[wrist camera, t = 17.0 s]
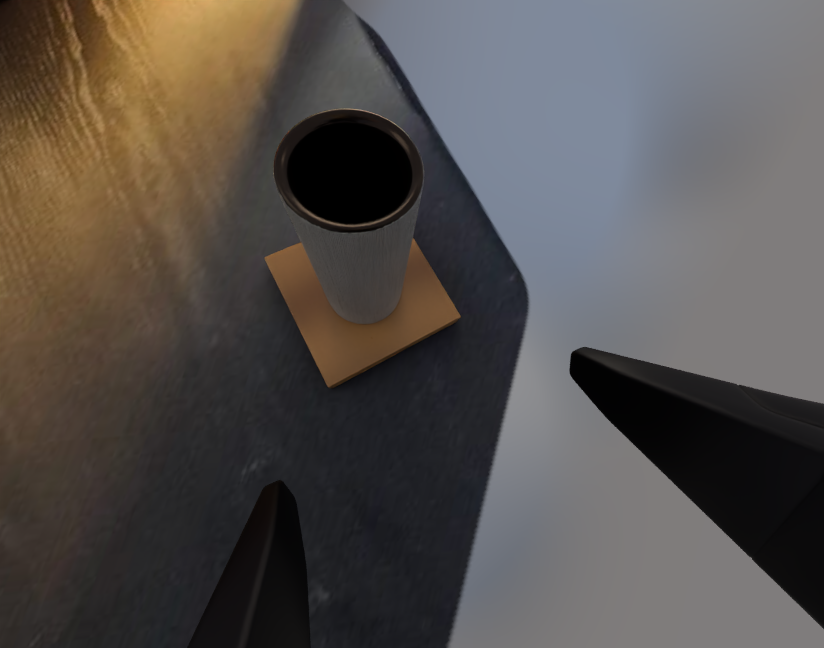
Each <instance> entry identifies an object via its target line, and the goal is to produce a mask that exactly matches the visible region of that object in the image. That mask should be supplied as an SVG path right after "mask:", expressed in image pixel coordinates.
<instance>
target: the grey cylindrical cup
mask: <svg viewBox="0 0 824 648" xmlns="http://www.w3.org/2000/svg"><path fill="white" fill-rule="evenodd" d="M273 174H274V181H275V185H276V188H277V190H278V193H279V195H280V198H281V200H282V202H283V204H284V206H285V209H286V211H287V213H288V215H289V217H290V219H291V222H292V224H293V226H294V228H295V230H296V232H297V234H298V237H299V239H300V241H301V243H302V245H303V247H304V250H305V252H306V254H307V256H308V258H309V260H310V262H311V265H312V267H313V269H314V271H315V273H316V275H317V278H318V280H319V282H320V284H321V286H322V288H323V290H324V293H325V295H326V297H327V299H328V301H329V303H330V305H331V306H332V308H333V309H334V311H335V312H336V313H337V314H338V315H339V316H341V317H342V318H344V319H345V320H347V321H350V322H353V323H356V324H371V323H376V322H378V321H381V320H383V319H384V318H386V317H387V316H389V315H390V314H391V313H392V312H393V311H394V309H395V308H396V306H397V304H398V302H399V299H400V296H401V292H402V287H403V283H404V278H405V273H406V268H407V263H408V258H409V253H410V248H411V243H412V238H413V233H414V229H415V224H416V219H417V214H418V209H419V204H420V199H421V194H422V189H423V183H424V167H423V162H422V158H421V155H420V153H419V151H418V149H417V147H416V145H415V144H414V142H413V141H412V139H411V138H410V137H409V136H408V135H407V133H406V132H404V131H403V130H402V129H401V128H400V127H399V126H397V125H396V124H395V123H393V122H392V121H390V120H388V119H386V118H384V117H382V116H380V115H378V114H375V113H372V112H368V111H364V110H358V109H332V110H327V111H323V112H320V113H316V114H314V115H311V116H309V117H307V118H305V119H304V120H302V121H301V122H299V123H298V124H296V125H295V126H294V127H293V128H292V129H291V130H290V131H289V132H288V133H287V134H286V135H285V137H284V138H283V139H282V141H281V143H280V144H279V146H278V149H277V151H276V154H275V158H274V165H273Z"/></svg>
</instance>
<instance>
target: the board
mask: <svg viewBox="0 0 824 648" xmlns="http://www.w3.org/2000/svg"><path fill="white" fill-rule="evenodd" d="M264 259H265V261H266V263H267V265H268V267H269V269H270V271H271V273H272V275H273V277H274V279H275V281H276V283H277V285H278V287H279V289H280V291H281V293H282V295H283V297H284V299H285V301H286V303H287V305H288V307H289V309H290V312H291V314H292V316H293V318H294V320H295V322H296V324H297V326H298V328H299V330H300V332H301V334H302V336H303V338H304V340H305V342H306V344H307V346H308V348H309V350H310V352H311V354H312V356H313V358H314V360H315V362H316V364H317V366H318V368H319V370H320V372H321V374H322V376H323V378H324V380H325V382H326V384H327V386H328V388H331V389H332V388H334V387H336V386H338V385H340V384H342V383H344V382H345V381H347V380H349V379H351V378H353V377H355V376H357V375H359V374H360V373H362V372H364V371H366V370H368V369H370V368H372V367H373V366H375V365H377V364H379V363H381V362H383V361H385V360H386V359H388V358H390V357H392V356H394V355H396V354H398V353H399V352H401V351H403V350H405V349H407V348H409V347H411V346H413V345H414V344H416V343H418V342H420V341H422V340H424V339H426V338H427V337H429V336H431V335H433V334H435V333H437V332H439V331H440V330H442V329H444V328H446V327H448V326H450V325H452V324H453V323H455V322H457V321H458V319H459V318H460V317H461V316H460V314H459V313H458V311H457V309H456V308H455V306H454V304H453V303H452V301H451V300H450V298H449V296H448V295H447V293H446V291H445V290H444V288H443V286H442V285H441V283H440V281H439V280H438V278H437V276H436V275H435V273H434V271H433V270H432V268H431V267H430V265H429V263H428V262H427V260H426V258H425V257H424V255H423V253H422V252H421V250H420V248H419V247H418V245H417V243H416V242H415V240H414V238H412V243H411V248H410V253H409V258H408V263H407V268H406V273H405V278H404V283H403V287H402V292H401V296H400V299H399V302H398V304H397V306H396V308H395V309H394V311H393V312H392V313H391V314H390V315H389V316H387V317H386V318H384V319H383V320H381V321H378V322H376V323H371V324H356V323H353V322H350V321H347V320H345V319H344V318H342V317H341V316H339V315H338V314H337V313H336V312H335V311H334V309H333V308H332V306H331V305H330V303H329V301H328V299H327V297H326V295H325V293H324V290H323V288H322V286H321V284H320V282H319V280H318V278H317V275H316V273H315V271H314V269H313V267H312V265H311V262H310V260H309V258H308V256H307V254H306V252H305V250H304V247H303V245H302V243H301V242H300V243H298V244H296V245H293V246H291V247H288V248H286V249H284V250H281V251H279V252H276V253H274V254H272V255H269V256H267V257H265V258H264Z"/></svg>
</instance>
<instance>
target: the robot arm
mask: <svg viewBox="0 0 824 648" xmlns="http://www.w3.org/2000/svg"><path fill="white" fill-rule="evenodd" d="M570 375H571V377H572V378H573V380H574V381H575V382H576V383H577V384H578V386H579V387H580V388H581V389H582V390H583V391H584V393H585V394H586V395H587V396H588V397H589V398H590V400H591V401H592V402H593V403H594V404H595V405H596V406H597V408H598V409H599V410H600V411H601V412H602V413H603V414H604V416H605V417H606V418H607V419H608V420H609V421H610V422H611V423H612V424H613V425H614V426H615V427H617V429H618V430H619V431H620V432H622V433H623V434H624V435H625V436H626V437H627V438H628V439H629V440H630V441H631V442H632V443H633V444H634V445H635V446H636V447H637V448H638V449H639V450H640V451H641V452H642V453H643V454H644V455H645V456H646V457H647V458H648V459H649V460H650V461H651V462H652V463H653V464H655V466H657V467H658V468H659V469H660V470H661V471H662V472H663V473H664V474H665V475H666V476H667V477H668V478H669V479H670V480H671V481H672V482H673V483H674V484H675V485H676V486H677V487H678V488H679V489H680V490H681V491H682V492H683V493H684V494H686V496H687V497H689V498H690V499H691V500H692V501H693V502H694V503H695V504H696V505H697V506H698V507H699V508H700V509H701V510H702V511H703V512H704V513H705V514H706V515H707V516H708V517H709V518H710V519H711V520H712V521H713V522H714V523H715V524H716V525H717V526H718V527H719V528H721V529H722V530H723V531H724V532H725V533H726V534H727V535H728V536H729V537H730V538H731V539H732V540H733V541H734V542H735V543H736V544H737V545H738V546H739V547H740V548H741V549H742V550H743V551H744V552H745V553H746V554H747V555H748V556H749V557H751V558H752V560H753V561H754V562H755V563H756V564H757V565H758V566H759V567H760V568H761V569H763V570H764V571H765V572H766V573H767V574H768V575H769V576H770V577H771V578H772V579H773V580H774V581H775V582H776V583H777V584H778V585H779V586H780V587H781V588H782V589H783V590H784V591H785V592H786V593H787V594H788V595H789V596H790V597H792V599H793V600H795V601H796V602H797V603H798V604H799V605H800V606H801V607H802V608H803V609H804V610H805V611H806V612H807V613H808V614H809V615H810V616H811V617H812V618H813V619H814V620H815V621H816V622H817V623H818V624H819V625H820V626H821V627H822V628H823V629H824V404H821V403H817V402H812V401H807V400H802V399H798V398H793V397H788V396H784V395H779V394H776V393H771V392H767V391H762V390H758V389H754V388H750V387H746V386H742V385H737V384H734V383H730V382H726V381H721V380H718V379H714V378H710V377H705V376H701V375H697V374H693V373H689V372H685V371H681V370H677V369H673V368H669V367H665V366H661V365H657V364H653V363H649V362H645V361H641V360H637V359H632V358H628V357H624V356H620V355H616V354H612V353H608V352H604V351H600V350H596V349H592V348H587V347H582V348H579V349H577V350H575V351H573V352H572V354H571V360H570ZM187 648H311V647H310V626H309V605H308V585H307V569H306V560H305V553H304V547H303V541H302V534H301V528H300V522H299V515H298V509H297V503H296V500H295V497H294V496H293V494H292V493H291V492H290V490H289V489H288V488H287V486H286V485H285V484H284V482H283V481H281V480H278V481H276V482H273V483H271V484H269V485H267V486H265V487H264V488H263V490H262V492H261V494H260V496H259V498H258V500H257V502H256V504H255V506H254V508H253V511H252V513H251V515H250V517H249V519H248V521H247V523H246V525H245V527H244V529H243V532H242V534H241V536H240V538H239V540H238V542H237V544H236V546H235V548H234V550H233V553H232V555H231V557H230V559H229V561H228V563H227V565H226V567H225V569H224V571H223V574H222V576H221V578H220V580H219V582H218V584H217V586H216V588H215V590H214V592H213V595H212V597H211V599H210V601H209V603H208V605H207V607H206V609H205V611H204V613H203V616H202V618H201V620H200V622H199V624H198V626H197V628H196V630H195V632H194V634H193V637H192V639H191V641H190V643H189V645H188V647H187Z"/></svg>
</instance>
